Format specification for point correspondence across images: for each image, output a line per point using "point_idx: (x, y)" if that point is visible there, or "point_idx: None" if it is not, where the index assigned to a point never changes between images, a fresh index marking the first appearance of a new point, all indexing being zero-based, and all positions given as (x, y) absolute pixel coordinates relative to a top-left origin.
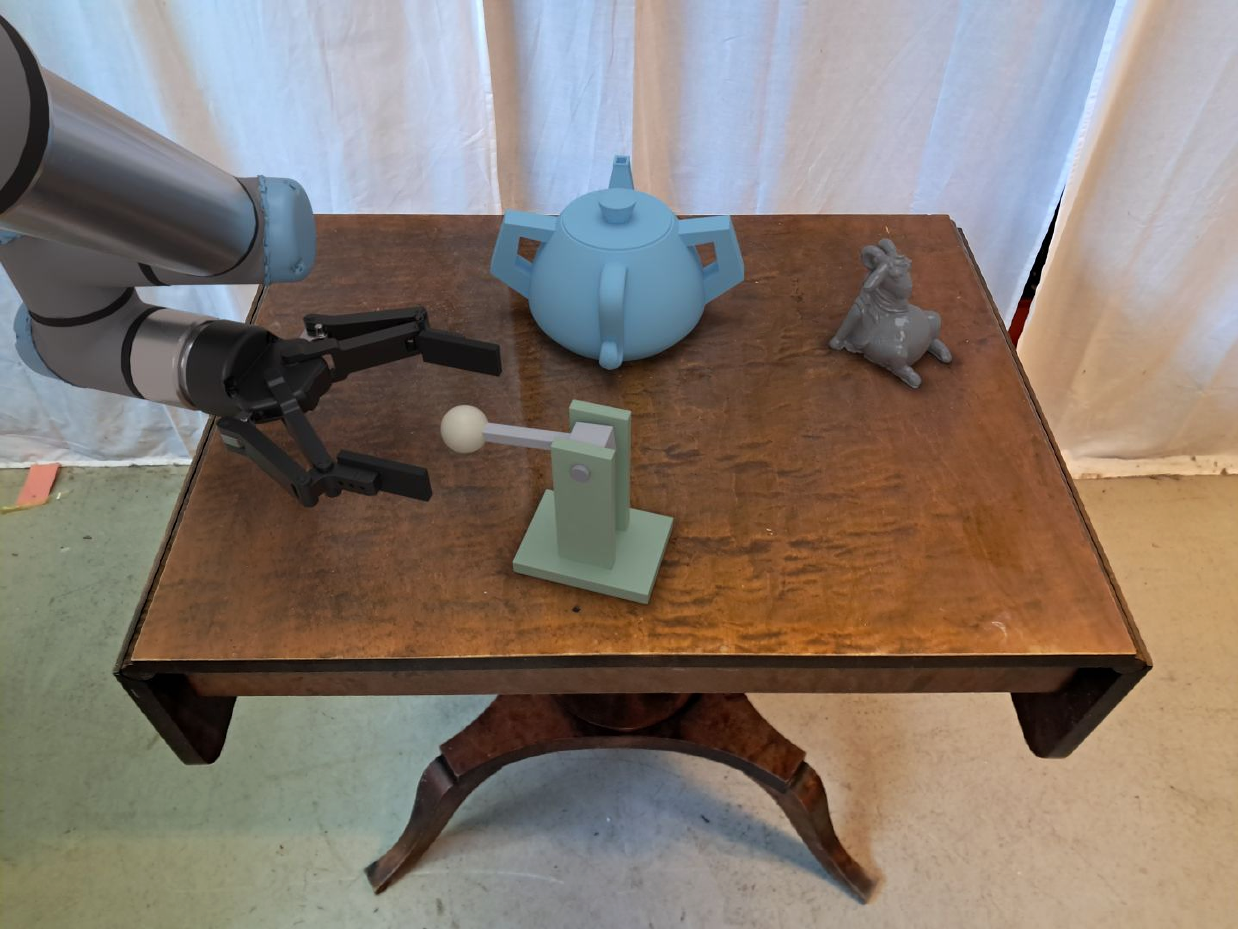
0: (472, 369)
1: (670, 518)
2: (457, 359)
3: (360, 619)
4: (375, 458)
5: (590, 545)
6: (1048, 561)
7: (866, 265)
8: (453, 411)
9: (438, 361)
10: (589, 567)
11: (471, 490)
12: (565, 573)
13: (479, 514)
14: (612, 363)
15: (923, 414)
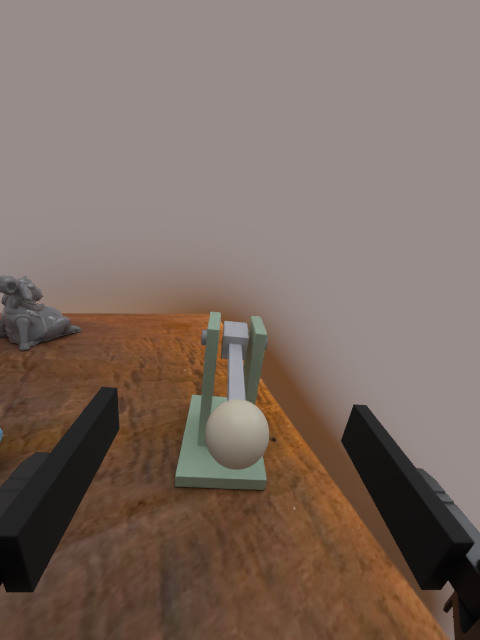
0: (99, 462)
1: (193, 395)
2: (85, 473)
3: None
4: (401, 464)
5: None
6: (186, 319)
7: (10, 291)
8: (242, 417)
9: (60, 531)
10: None
11: (168, 590)
12: None
13: (207, 557)
14: (1, 434)
15: (102, 331)
